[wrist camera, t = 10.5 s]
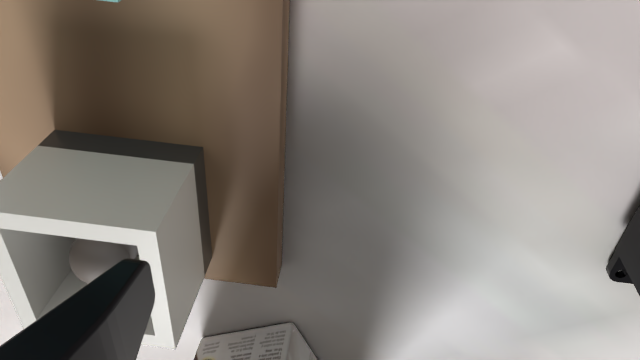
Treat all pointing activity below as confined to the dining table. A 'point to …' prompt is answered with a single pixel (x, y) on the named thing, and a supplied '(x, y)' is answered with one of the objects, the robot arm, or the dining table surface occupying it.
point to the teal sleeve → (111, 0)
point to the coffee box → (257, 345)
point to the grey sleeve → (106, 221)
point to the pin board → (161, 105)
